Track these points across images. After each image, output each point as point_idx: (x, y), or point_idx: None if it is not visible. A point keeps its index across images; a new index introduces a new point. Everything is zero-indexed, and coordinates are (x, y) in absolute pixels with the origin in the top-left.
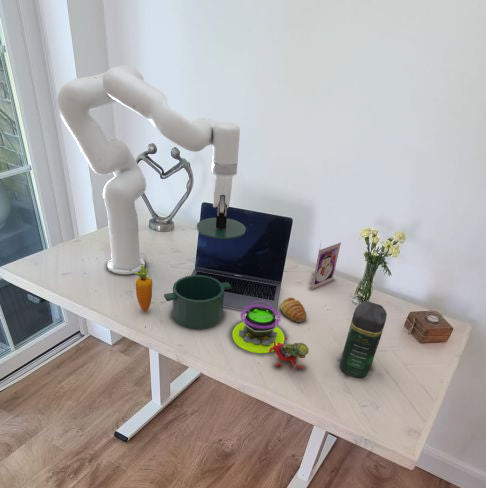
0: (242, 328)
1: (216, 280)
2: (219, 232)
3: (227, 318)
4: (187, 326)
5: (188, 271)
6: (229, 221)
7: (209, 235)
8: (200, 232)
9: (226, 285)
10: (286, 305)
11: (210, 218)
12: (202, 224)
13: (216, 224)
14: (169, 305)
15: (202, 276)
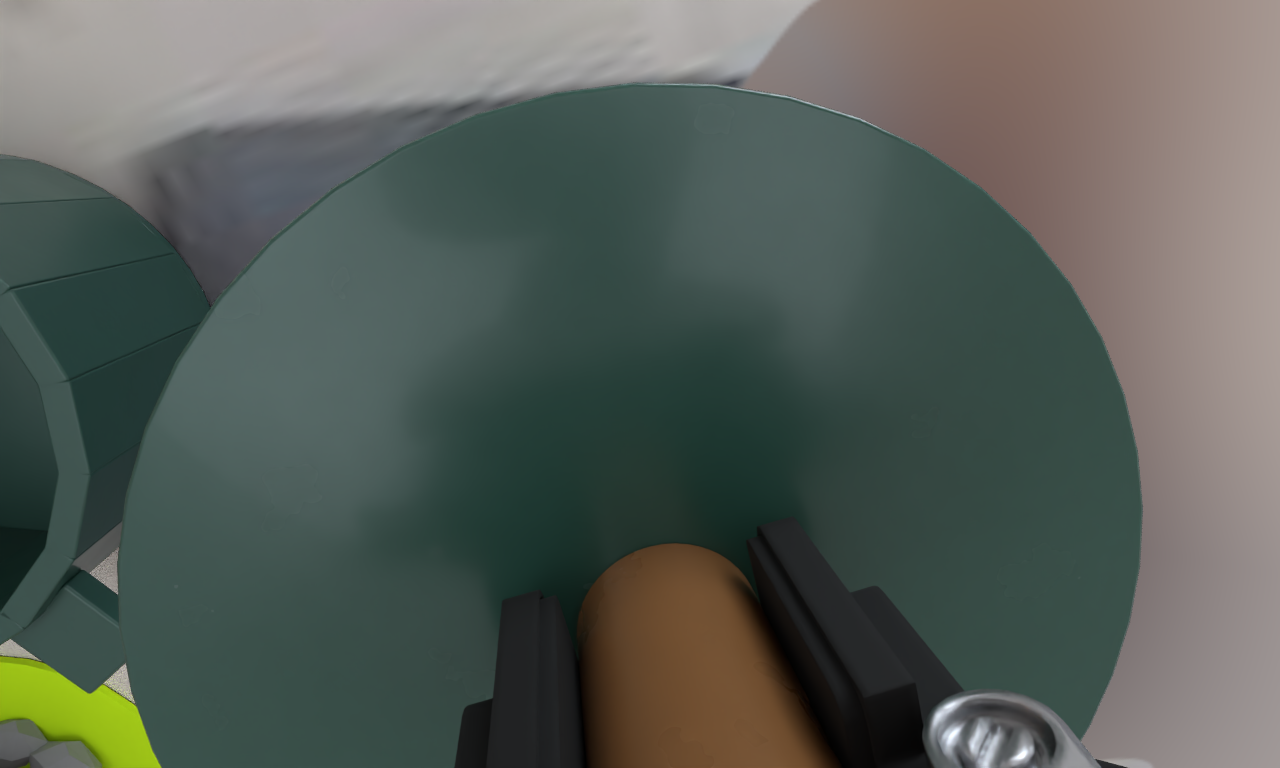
0: (17, 708)
1: (50, 563)
2: (382, 685)
3: (95, 576)
4: None
5: (655, 34)
6: (996, 669)
7: (119, 563)
8: (214, 312)
9: (63, 657)
10: None
11: (1033, 279)
12: (631, 220)
13: (502, 643)
14: (7, 78)
15: (44, 398)
